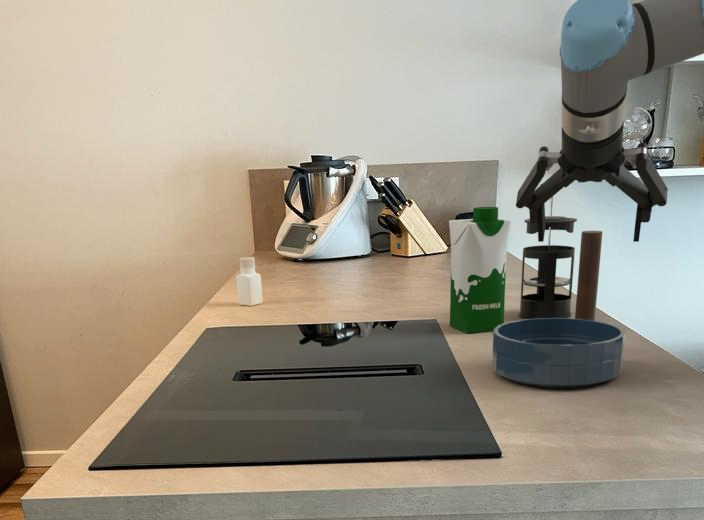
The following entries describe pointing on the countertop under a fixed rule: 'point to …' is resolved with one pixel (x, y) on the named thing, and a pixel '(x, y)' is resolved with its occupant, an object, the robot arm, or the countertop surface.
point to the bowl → (558, 351)
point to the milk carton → (478, 271)
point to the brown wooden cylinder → (588, 274)
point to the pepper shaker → (249, 283)
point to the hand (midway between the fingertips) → (588, 234)
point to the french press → (547, 273)
